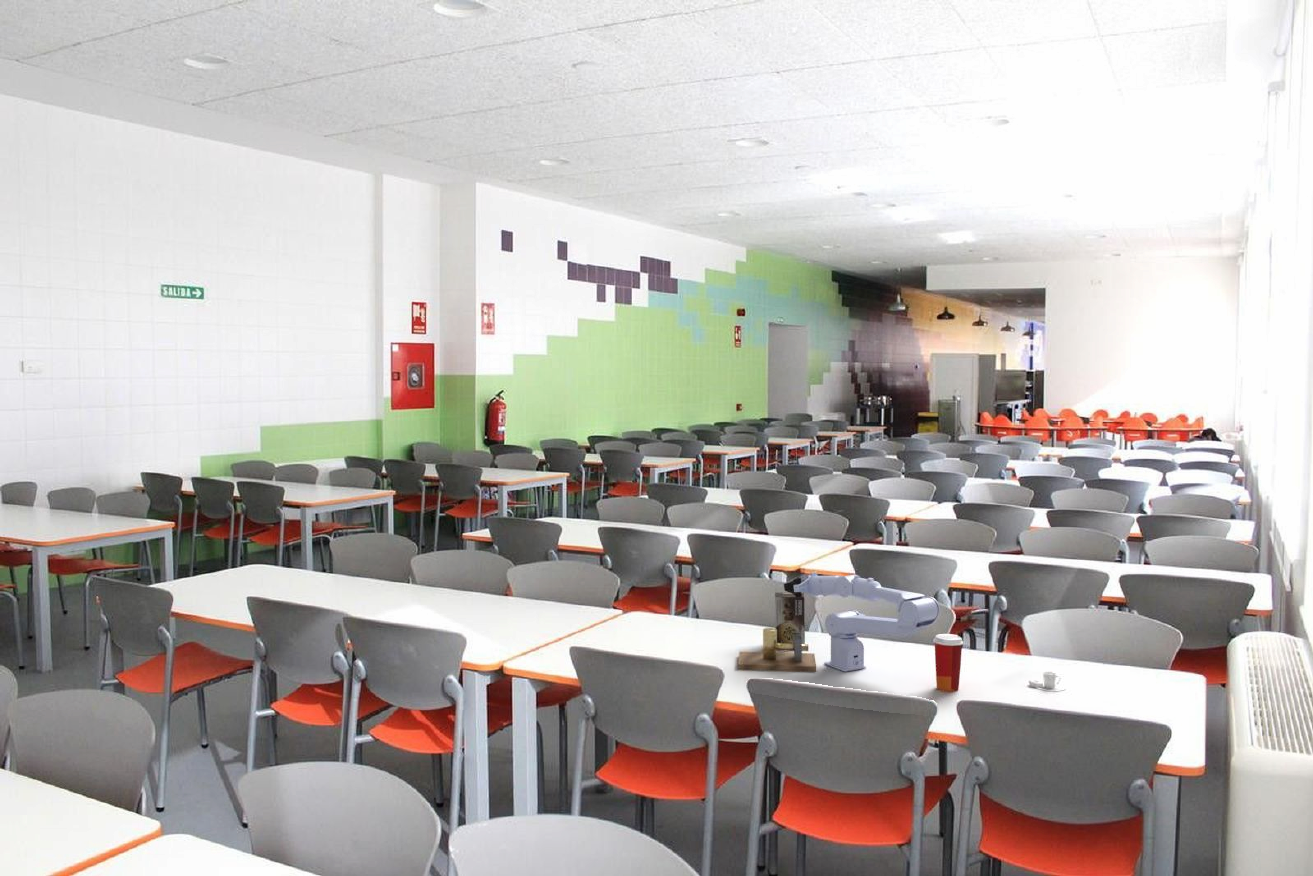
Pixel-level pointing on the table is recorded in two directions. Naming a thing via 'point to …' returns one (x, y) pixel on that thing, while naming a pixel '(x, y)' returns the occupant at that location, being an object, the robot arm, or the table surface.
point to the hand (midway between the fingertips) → (794, 585)
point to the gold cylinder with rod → (775, 644)
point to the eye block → (779, 660)
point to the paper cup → (948, 661)
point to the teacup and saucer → (1047, 682)
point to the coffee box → (789, 617)
